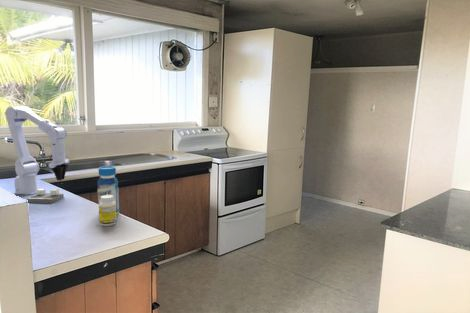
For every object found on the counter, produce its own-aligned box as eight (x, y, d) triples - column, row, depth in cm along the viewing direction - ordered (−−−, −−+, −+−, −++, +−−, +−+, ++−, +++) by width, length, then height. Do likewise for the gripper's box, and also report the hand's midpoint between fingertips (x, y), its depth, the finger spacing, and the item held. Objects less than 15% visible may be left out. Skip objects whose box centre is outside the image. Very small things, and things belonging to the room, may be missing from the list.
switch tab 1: (36, 194, 171) (36, 190, 171) (39, 193, 174) (39, 188, 173) (42, 194, 171) (42, 190, 171) (45, 193, 173) (45, 189, 173)
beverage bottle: (123, 212, 154) (122, 166, 151) (109, 217, 146) (107, 170, 143) (108, 209, 157) (106, 164, 154) (94, 215, 149) (91, 168, 146)
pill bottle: (102, 221, 142) (101, 194, 140) (118, 220, 143) (117, 194, 141) (97, 226, 136) (96, 198, 134) (114, 226, 137) (113, 198, 135)
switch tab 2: (50, 194, 171) (50, 190, 170) (53, 193, 173) (53, 189, 173) (56, 195, 170) (56, 190, 170) (59, 193, 173) (59, 189, 172)
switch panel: (27, 202, 166) (26, 198, 166) (40, 196, 176) (40, 192, 176) (51, 203, 165) (51, 199, 165) (63, 197, 175) (63, 193, 175)
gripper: (58, 154, 167) (59, 183, 169) (74, 150, 181) (76, 176, 183) (43, 154, 167) (45, 182, 169) (61, 150, 181) (62, 176, 184)
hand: (60, 179), depth 176 cm, fingers closed
